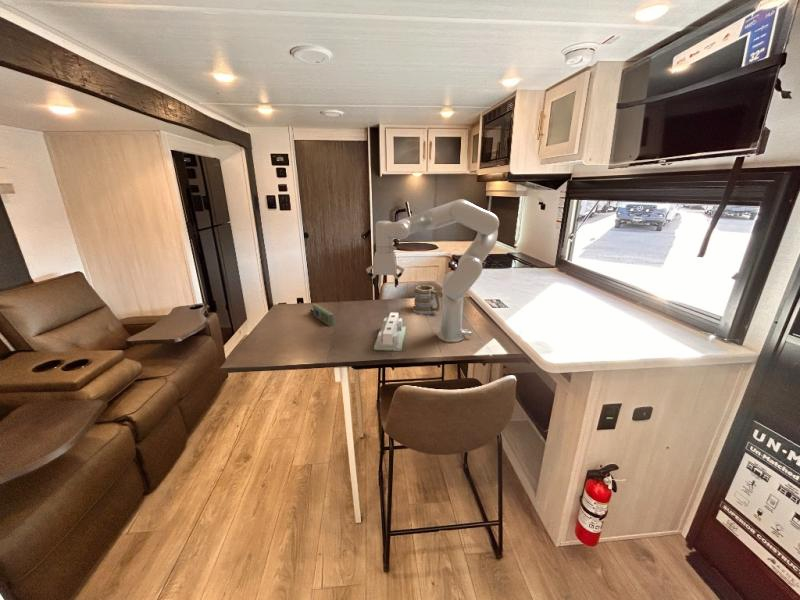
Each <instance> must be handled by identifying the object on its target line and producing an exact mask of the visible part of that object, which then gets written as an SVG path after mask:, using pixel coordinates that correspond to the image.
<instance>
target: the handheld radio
mask: <svg viewBox="0 0 800 600" xmlns="http://www.w3.org/2000/svg"><path fill="white" fill-rule="evenodd" d="M312 308H313V309H309V312H311V314H313V316H314V317H315V318H317V319H318V320H320V322H323V323H324V324H326V325H327V326H329V327H334V326H335V315H334V313H333V312H330V311H329V310H327V309H326V308H323V307H322V306H321V305H319V304H317V303H312Z"/></svg>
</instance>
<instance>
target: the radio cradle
mask: <svg viewBox="0 0 800 600" xmlns="http://www.w3.org/2000/svg"><path fill="white" fill-rule="evenodd" d="M388 318H389V317H385V318H384V319H383V325H381V327H380V330H379V332H378V334H377V339H376V340H375V343H374V346H373V350H375V351H376V350H377V351H391V350H393V351H396V352H402V350H403V344H404V341H405V334H406V330H407V327H406V326H403V317H402V318H401V317H400V318H399V321H398V326H397V329H396V332H395V335H394V340H393V344H392V345H391V344H383V332H384V329H385V326H386V323H387V321H388Z"/></svg>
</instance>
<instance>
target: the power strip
mask: <svg viewBox="0 0 800 600" xmlns="http://www.w3.org/2000/svg"><path fill="white" fill-rule="evenodd" d="M387 318H388V321H387V323H386V326H385V329H384V332H383V344H391V345H392V344H393V340H394V335H395V332H396V329H397V326H398V321H399V312H390V314H389V316H388V317H387Z"/></svg>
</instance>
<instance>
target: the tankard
mask: <svg viewBox="0 0 800 600" xmlns="http://www.w3.org/2000/svg"><path fill="white" fill-rule="evenodd" d="M442 294H443V289H442V290H441V289H440V290H437V291H436V290H435V286H433V285H430V284H420V285H417V286H415V290H414V293H413V295H414V297H415V298H414V300H413V302H414V305H413V307H412V308H413V309H412V310H413V311H412V312H413V313H415V312H416V313H415V314H417V313H418V314H417V315H420V314H426V315H427V316H429V314H430V315H431V314H435V313H436V312H440V310H441V309H442V301H441V298H440V297H441V296H442ZM440 295H441V296H440ZM435 301H436V307H435ZM434 312H435V313H434ZM426 315H425V316H426Z"/></svg>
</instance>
